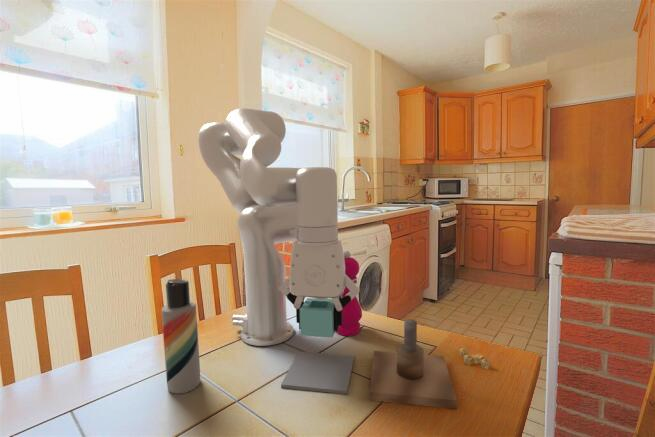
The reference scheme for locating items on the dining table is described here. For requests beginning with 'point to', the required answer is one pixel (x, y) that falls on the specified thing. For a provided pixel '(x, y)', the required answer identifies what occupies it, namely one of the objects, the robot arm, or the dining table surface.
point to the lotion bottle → (180, 338)
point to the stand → (411, 375)
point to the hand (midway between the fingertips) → (319, 326)
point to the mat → (319, 372)
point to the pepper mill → (353, 308)
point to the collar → (317, 318)
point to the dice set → (468, 359)
